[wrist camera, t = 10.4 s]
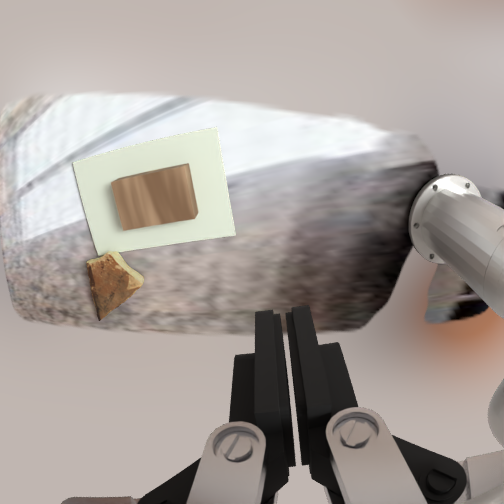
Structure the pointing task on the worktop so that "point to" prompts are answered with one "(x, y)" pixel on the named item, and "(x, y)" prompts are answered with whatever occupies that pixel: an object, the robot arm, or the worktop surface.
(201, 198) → the sage mat
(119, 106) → the worktop surface
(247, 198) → the worktop surface
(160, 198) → the walnut slab
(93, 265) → the shard
